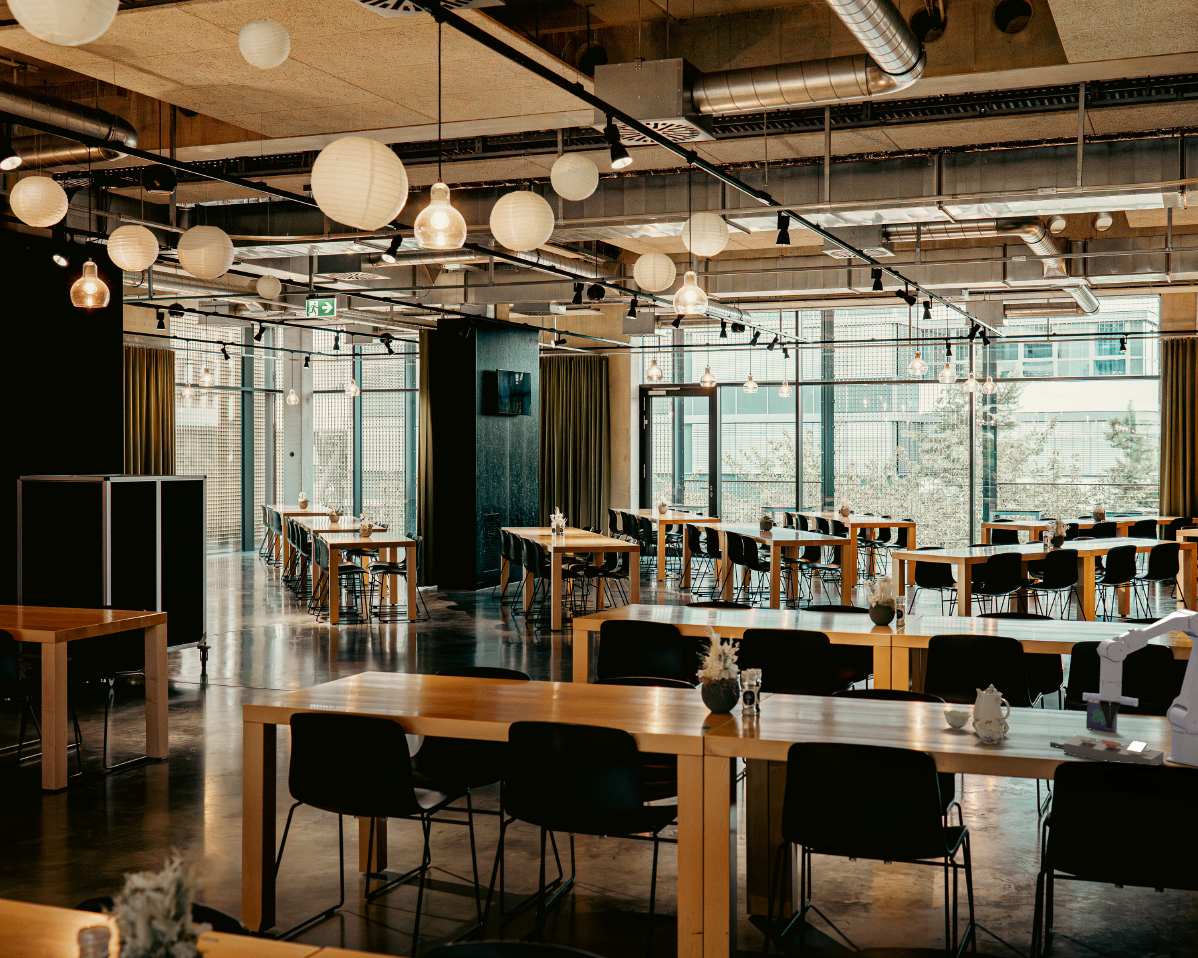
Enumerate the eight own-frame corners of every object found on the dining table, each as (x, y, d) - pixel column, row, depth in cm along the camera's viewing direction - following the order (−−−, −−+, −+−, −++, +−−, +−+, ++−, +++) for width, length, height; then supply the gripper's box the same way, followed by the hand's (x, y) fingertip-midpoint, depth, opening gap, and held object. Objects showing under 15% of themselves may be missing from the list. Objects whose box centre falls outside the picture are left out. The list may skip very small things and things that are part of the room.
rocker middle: (1120, 748, 316) (1121, 743, 316) (1114, 747, 312) (1114, 741, 312) (1107, 746, 318) (1108, 740, 319) (1101, 744, 314) (1101, 739, 314)
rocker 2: (1146, 748, 312) (1146, 742, 311) (1140, 756, 307) (1140, 751, 307) (1133, 745, 314) (1133, 740, 314) (1127, 754, 310) (1126, 749, 309)
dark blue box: (1117, 731, 349) (1118, 698, 349) (1115, 733, 347) (1116, 700, 347) (1087, 726, 355) (1088, 694, 355) (1084, 728, 353) (1085, 695, 353)
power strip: (1163, 762, 313) (1163, 751, 313) (1151, 769, 304) (1151, 758, 304) (1057, 742, 333) (1058, 731, 333) (1043, 749, 324) (1043, 738, 324)
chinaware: (933, 731, 351) (930, 681, 350) (975, 723, 356) (972, 673, 356) (992, 753, 324) (989, 699, 324) (1036, 744, 330) (1033, 690, 329)
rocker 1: (1095, 744, 321) (1096, 738, 321) (1089, 742, 316) (1089, 737, 317) (1082, 741, 323) (1083, 736, 323) (1076, 740, 319) (1077, 734, 319)
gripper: (1139, 681, 314) (1137, 728, 314) (1084, 675, 321) (1083, 721, 321) (1138, 685, 308) (1136, 733, 308) (1082, 679, 315) (1081, 726, 315)
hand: (1109, 727), depth 314 cm, fingers closed
